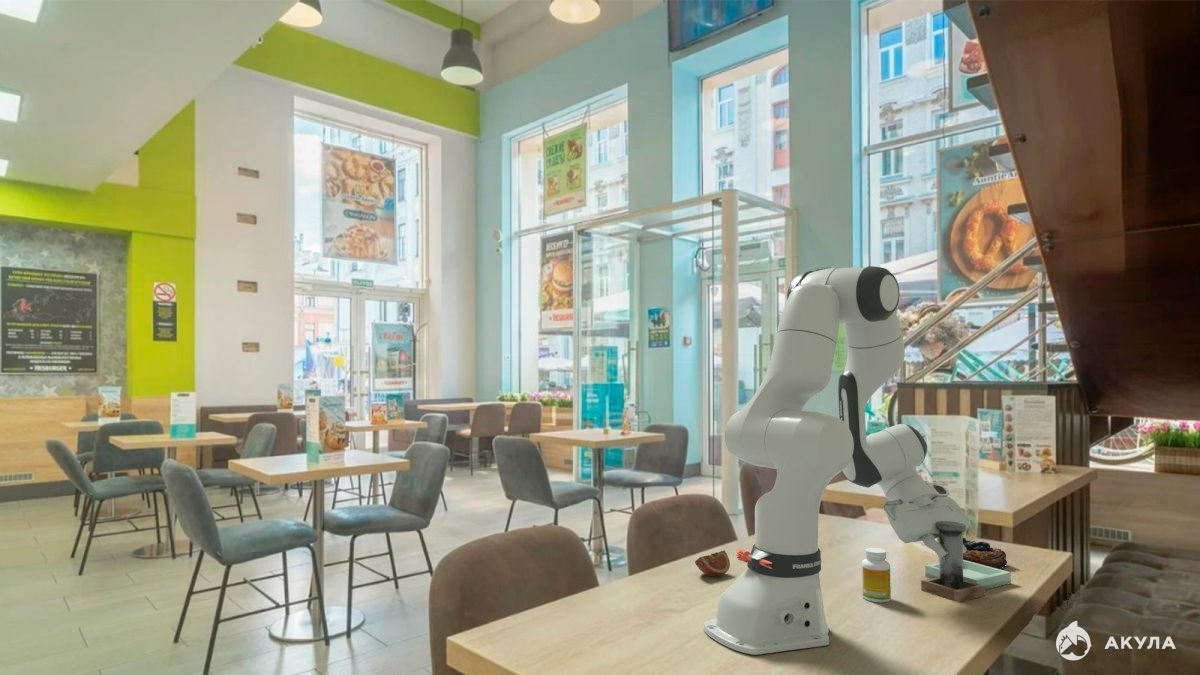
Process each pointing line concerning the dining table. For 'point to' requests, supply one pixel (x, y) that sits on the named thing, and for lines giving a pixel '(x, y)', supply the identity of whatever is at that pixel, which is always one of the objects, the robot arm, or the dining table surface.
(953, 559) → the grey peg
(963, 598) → the socket block
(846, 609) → the dining table surface
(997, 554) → the pastry
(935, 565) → the tray
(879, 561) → the supplement bottle
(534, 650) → the dining table surface
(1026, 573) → the dining table surface
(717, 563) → the fruit slice
